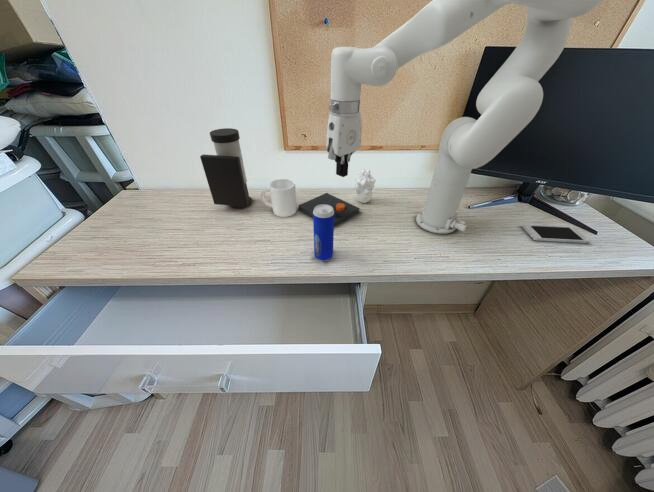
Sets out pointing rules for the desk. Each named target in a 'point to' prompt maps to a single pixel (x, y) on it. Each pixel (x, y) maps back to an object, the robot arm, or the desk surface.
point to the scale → (332, 201)
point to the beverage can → (323, 231)
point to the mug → (281, 197)
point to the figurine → (364, 186)
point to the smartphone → (555, 234)
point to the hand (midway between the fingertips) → (341, 174)
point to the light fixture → (226, 170)
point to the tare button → (340, 207)
